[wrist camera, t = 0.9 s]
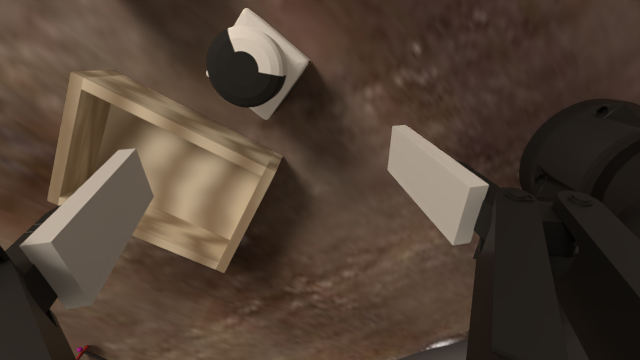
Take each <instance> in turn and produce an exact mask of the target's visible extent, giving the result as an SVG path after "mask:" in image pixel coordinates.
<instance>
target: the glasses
mask: <svg viewBox="0 0 640 360" xmlns="http://www.w3.org/2000/svg"><path fill="white" fill-rule="evenodd" d="M88 347H89V346H88V345H87V346H86V347H85V348H84V349H82V347H79V348H78V349H77V352H81V353H80V354H79V355H78V356H77V358H76V360H79V359H80V358H81V356H82V355H83V354H84V353H85V354H87V355H89V356H92V357H94V358H96V359H99V360H106V359H104V358H102V357H100V356H97V355H95V354H93V353H90V352H88V351H86V350H87V348H88Z"/></svg>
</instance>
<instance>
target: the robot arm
mask: <svg viewBox="0 0 640 360" xmlns="http://www.w3.org/2000/svg"><path fill="white" fill-rule="evenodd" d="M388 171H389V172H390V173H391V175H392V176H393V177H394V178H395V179H396V180H397V181H398V183H399V184H400V185H401V186H402V187H403V188H404V190H405V191H406V192H407V193H408V194H409V195H410V196H411V198H412V199H413V200H414V201H415V202H416V203H417V205H418V206H419V207H420V208H421V209H422V210H423V211H424V213H425V214H426V215H427V216H428V217H429V218H430V220H431V221H432V222H433V223H434V224H435V225H436V226H437V228H438V229H439V230H440V231H441V232H442V233H443V235H444V236H445V237H446V238H447V239H448V240H449V241H450V243H451V244H452V245H459V244H465V243H470V241H471V238H472V235H473V232H474V231H475V232H476V233H477V234H478V235H479V236H480V240H479V243H478V246H477V249H476V251H475V254H474V257H473V258H474V259H476V269H475V279H474V289H473V298H472V308H471V318H470V328H469V337H468V347H467V357H466V360H640V105H638V104H635V103H632V102H627V101H620V100H612V99H593V100H588V101H584V102H580V103H577V104H575V105H572V106H570V107H568V108H566V109H564V110H562V111H560V112H559V113H557V114H556V115H554V116H553V117H552V118H550V119H549V120H548V121H547V122H546V123H545V124H543V125H542V126H541V127H540V129H539V130H538V131H537V132H536V133H535V134H534V136H533V137H532V138H531V140H530V142H529V143H528V145H527V147H526V149H525V151H524V153H523V156H522V159H521V163H520V171H519V176H520V183H521V186H522V189H523V190H520V189H516V188H509V187H508V188H500V187H499V186H497V185H496V184H494V183H493V182H491V181H490V180H488V179H487V178H486V177H484V176H483V175H482V176H481V174H480V173H478V172H477V171H475V170H474V169H473V168H471V167H470V166H468V165H467V164H464V163H462V162H459V161H457V160H454V159H452V158H451V157H450V156H448V155H447V154H445V153H444V152H443V151H441V150H440V149H438V148H437V147H436V146H434V145H433V144H431V143H430V142H429V141H427V140H426V139H424V138H423V137H422V136H420V135H419V134H417V133H416V132H415V131H413V130H412V129H410V128H409V127H408V126H406V125H400V126H393V127H392V136H391V145H390V153H389V162H388ZM153 197H154V195H153V193H152V190H151V187H150V185H149V182H148V179H147V177H146V174H145V171H144V169H143V166H142V163H141V161H140V158H139V155H138V153H137V150H136V149H125V150H118V151H117V152H116V153H115V154H114V155H113V156H112V157H111V158H110V159H109V160H108V161H107V162H106V163H105V164H104V165H103V166H102V167H100V168H99V169H98V170H97V171H96V172H95V173H94V174H93V175H92V176H91V177H90V178H89V179H88V180H87V181H86V182H85V183H84V184H83V185H82V186H81V187H80V188H79V189H78V190H77V191H76V192H75V193H74V194H73V195H72V196H71V197H70V198H68V199H67V200H66V201H65V202H64V203H63V204H62V205H59V206H58V207H56V208H54V209H53V210H51V211H49V212H48V213H46V214H44V215H43V216H42V217H41V218H40V219H39V220H38V221H37V222H36V223H35V225H33V226H32V227H31V228H29V229H28V230H27V233H24V234H23V235H22V236H21V237H20V238H19V239H18V240H17V241H16V242H14V243H13V244H12V245H11V246H10V247H9V248H8V249H7V250H6V251H4V250H3V248H2V247H1V246H0V360H76V358H75V356H74V354H73V352H72V350H71V348H70V345H69V343H68V341H67V339H66V337H65V335H64V333H63V331H62V329H61V327H60V325H59V323H58V321H57V318H56V316H55V315H54V313H53V312H52V311H51V310H50V307H51V306H52V304H53V303H54V301H55V300H56V299H57V298H58V299H59V300H60V302H61V303H62V305H63V306H64V307H65V309H72V308H78V307H84V306H90V305H93V303H94V301H95V300H96V298H97V296H98V294H99V293H100V291H101V289H102V287H103V286H104V284H105V282H106V280H107V278H108V277H109V275H110V273H111V271H112V270H113V268H114V266H115V264H116V263H117V261H118V259H119V257H120V256H121V254H122V252H123V250H124V248H125V247H126V245H127V243H128V241H129V240H130V238H131V236H132V234H133V233H134V231H135V229H136V227H137V225H138V224H139V222H140V220H141V218H142V217H143V215H144V213H145V211H146V210H147V208H148V206H149V204H150V203H151V201H152V199H153Z"/></svg>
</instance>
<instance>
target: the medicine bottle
mask: <svg viewBox="0 0 640 360" xmlns="http://www.w3.org/2000/svg"><path fill="white" fill-rule="evenodd" d="M310 65H311V60H310V59H309V58H308V57H306V56H305V55H304V54H303V53H302V52H301V51H299V50H298V49H297V48H296V47H295V46H294V45H292V44H291V43H290V42H289V41H288V40H287V39H285V38H284V37H283V36H282V35H281V34H280V33H278V32H277V31H276V30H275V29H274V28H273V27H271V26H270V25H269V24H268V23H267V22H266V21H264V20H263V19H262V18H261V17H259V16H258V15H256V14H255V13H254V12H252V11H251V10H250V9H248V8H245V9H244V10H243V11H242V13H241V15H240V16H239V18H238V20H237V21H236V23H235V25H234V26H233V27H230V28H227V29H225V30H223V31H222V32H221V33H219V34H218V35H217V36H216V37H215V38H214V40H213V41H212V43H211V45H210V47H209V50H208V54H207V71H206V75H207V76H208V77H209V78H210V81H211V83H212V85H213V87H214V88H215V90H216V91H217V92H218V93H219V94H220V95H221V96H222V97H223V98H224V99H225V100H227V101H228V102H230V103H232V104H234V105H237V106H240V107H247V108H250V109H251V110H252V111H254V112H255V113H256V114H258V115H259V116H260V117H262V118H263V119H265V120H268V119H269V118H270V117H271V116H272V115H273V114H274V113H275V112H276V111H277V110H278V109H279V107H280V106H281V105H282V103H283V102H284V100H285V99H286V98H287V96H288V95H289V94H290V92H291V91H292V89H293V88H294V87H295V85H296V84H297V83H298V81H299V80H300V78H301V77H302V76H303V74H304V73H305V72H306V70H307V69H308V67H309V66H310Z"/></svg>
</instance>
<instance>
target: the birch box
mask: <svg viewBox="0 0 640 360" xmlns="http://www.w3.org/2000/svg"><path fill="white" fill-rule="evenodd" d="M125 149H136V150H137V153H138V155H139V158H140V161H141V163H142V166H143V169H144V171H145V174H146V177H147V179H148V182H149V185H150V187H151V190H152V193H153V195H154V197H153V199H152V201H151V203H150V204H149V206H148V208H147V210H146V211H145V213H144V215H143V217H142V218H141V220H140V222H139V224H138V225H137V227H136V229H135V231H134V233H133V234H132V236H135V237H137V238H140V239H142V240H145V241H147V242H149V243H152V244H154V245H157V246H159V247H162V248H164V249H167V250H169V251H171V252H174V253H176V254H179V255H181V256H184V257H186V258H189V259H191V260H193V261H196V262H198V263H201V264H203V265H206V266H208V267H211V268H213V269H215V270H218V271H220V272H223V273H224V272H225V271H226V269H227V267H228V265H229V263H230V261H231V259H232V257H233V255H234V253H235V251H236V249H237V247H238V245H239V243H240V241H241V239H242V237H243V235H244V233H245V232H246V230H247V228H248V226H249V224H250V222H251V220H252V218H253V216H254V214H255V212H256V210H257V208H258V206H259V204H260V202H261V200H262V198H263V196H264V194H265V192H266V191H267V189H268V187H269V185H270V183H271V181H272V179H273V177H274V175H275V173H276V171H277V168H278V166H279V164H280V162H281V159H282V157H283V156H282V155H280V154H278V153H276V152H274V151H272V150H270V149H268V148H266V147H264V146H262V145H260V144H258V143H256V142H254V141H253V140H251V139H249V138H247V137H245V136H243V135H241V134H239V133H237V132H235V131H233V130H231V129H229V128H227V127H225V126H223V125H221V124H219V123H217V122H215V121H213V120H211V119H209V118H207V117H205V116H203V115H201V114H199V113H197V112H195V111H193V110H191V109H189V108H187V107H185V106H183V105H181V104H179V103H177V102H175V101H173V100H171V99H169V98H167V97H165V96H163V95H161V94H159V93H157V92H156V91H154V90H152V89H150V88H148V87H146V86H144V85H142V84H140V83H138V82H136V81H134V80H132V79H130V78H128V77H126V76H124V75H122V74H120V73H118V72H116V71H114V70H103V71H72V72H71V74H70V79H69V85H68V90H67V96H66V101H65V107H64V112H63V118H62V123H61V128H60V134H59V139H58V145H57V150H56V156H55V161H54V167H53V172H52V178H51V183H50V188H49V194H48V199H47V201H49V202H52V203H54V204H56V205H62V204H63V203H64V202H65V201H66V200H67V199H68V198H70V197H71V196H72V195H73V194H74V193H75V192H76V191H77V190H78V189H79V188H80V187H81V186H82V185H83V184H84V183H85V182H86V181H87V180H88V179H89V178H90V177H91V176H92V175H93V174H94V173H95V172H96V171H97V170H98V169H99V168H100V167H102V166H103V165H104V164H105V163H106V162H107V161H108V160H109V159H110V158H111V157H112V156H113V155H114V154H115V153H116V152H117V151H118V150H125Z"/></svg>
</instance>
